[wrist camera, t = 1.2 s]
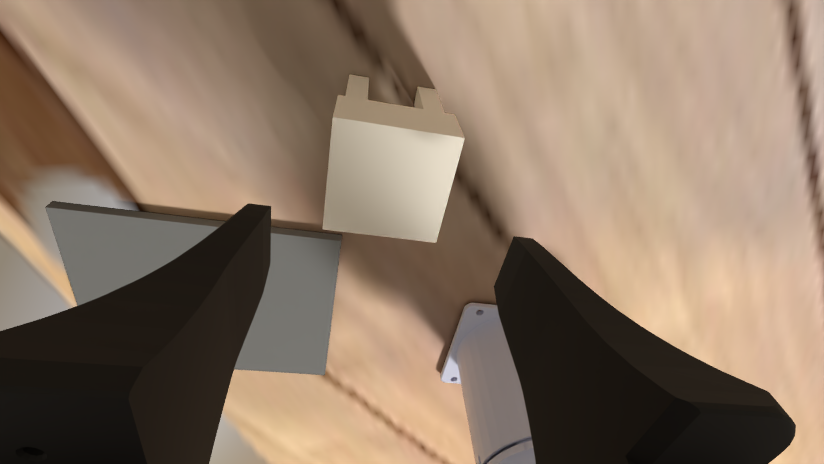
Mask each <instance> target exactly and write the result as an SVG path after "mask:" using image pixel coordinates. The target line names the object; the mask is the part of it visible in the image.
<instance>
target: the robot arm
mask: <svg viewBox="0 0 824 464" xmlns="http://www.w3.org/2000/svg"><path fill="white" fill-rule="evenodd" d="M270 261H271V206H265V205H257V204H247V205H246V206H244V207H243V208H242V209H241V210H239V211H238V212H237V213H236V214H235V215H233V216H232V217H231V218H230V219H229V220H227V221H226V222H225V223H224V224H222V225H221V226H220V227H219V228H217V229H216V230H215V231H213V232H212V233H211V234H210V235H208V236H207V237H206V238H204V239H203V240H202V241H200V242H199V243H198V244H196V245H195V246H193V247H192V248H190V249H189V250H187V251H186V252H184V253H183V254H181V255H180V256H179V257H177V258H176V259H174V260H172V261H171V262H169V263H167V264H166V265H164V266H162V267H160V268H159V269H157V270H155V271H153V272H151V273H149V274H148V275H146V276H144V277H142V278H140V279H138V280H136V281H134V282H132V283H129V284H127V285H125V286H123V287H121V288H119V289H116V290H114V291H112V292H110V293H108V294H106V295H103V296H101V297H99V298H96V299H94V300H91V301H89V302H86V303H84V304H81V305H79V306H76V307H73V308H71V309H68V310H65V311H62V312H60V313H57V314H54V315H51V316H48V317H45V318H42V319H39V320H36V321H33V322H30V323H26V324H23V325H20V326H17V327H13V328H10V329H6V330H3V331H0V464H209V461H210V457H211V453H212V449H213V445H214V441H215V437H216V433H217V429H218V425H219V422H220V418H221V414H222V410H223V406H224V403H225V399H226V395H227V392H228V388H229V384H230V381H231V377H232V374H233V371H234V368H235V365H236V362H237V359H238V356H239V354H240V351H241V349H242V346H243V344H244V341H245V338H246V336H247V333H248V331H249V328H250V326H251V323H252V321H253V318H254V316H255V313H256V310H257V308H258V305H259V303H260V300H261V298H262V295H263V292H264V288H265V284H266V280H267V276H268V272H269V267H270ZM494 289H495V296H496V302H497V305H491V304H481V303H469V304H467V305H466V306H465V307H464V310H463V313H462V315H461V318H460V321H459V324H458V327H457V329H456V332H455V335H454V338H453V341H452V343H451V346H450V349H449V352H448V355H447V357H446V360H445V363H444V366H443V369H442V372H441V374H440V377H441V381H443V382H445V383H459V384H461V386H462V392H463V397H464V403H465V408H466V413H467V419H468V424H469V430H470V435H471V440H472V446H473V451H474V457H475V462H476V464H768V463H769V462H771V461H772V460H773V459H774V458H776V457H777V456H778V455H779V454H781V453H782V452H783V451H784V450H785V449H786V448H787V447H788V446H789V445H790V443H791V442H792V440H793V438H794V436H795V428H796V425H795V423H794V422H793V420H792V419H791V418H790V417H789V415H788V414H787V413H786V412H785V411H784V409H783V408H782V407H781V406H780V405H779V404H778V402H777V401H776V400H775V399H774V398H773V396H772V395H771V394H770V393H769V392H767V391H765V390H763V389H761V388H759V387H756V386H754V385H752V384H749V383H747V382H745V381H743V380H740V379H738V378H736V377H734V376H731V375H729V374H727V373H725V372H722V371H720V370H718V369H716V368H714V367H712V366H710V365H708V364H706V363H704V362H702V361H700V360H698V359H696V358H694V357H692V356H691V355H689V354H687V353H685V352H683V351H681V350H680V349H678V348H676V347H674V346H672V345H671V344H669V343H667V342H666V341H664V340H662V339H661V338H659V337H657V336H656V335H654V334H652V333H651V332H649V331H648V330H646V329H644V328H643V327H641V326H640V325H638V324H637V323H635V322H634V321H632V320H631V319H630V318H628V317H627V316H625V315H624V314H622V313H621V312H619V311H618V310H617V309H615V308H614V307H613V306H611V305H610V304H609V303H608V302H606V301H605V300H604V299H603V298H601V297H600V296H599V295H598V294H596V293H595V292H594V291H593V290H591V289H590V288H589V287H588V286H587V285H585V284H584V283H583V282H582V281H581V280H580V279H578V278H577V277H576V276H575V275H574V274H573V273H572V272H570V271H569V270H568V269H567V268H566V267H565V266H564V265H563V264H562V263H560V262H559V261H558V260H557V259H556V258H555V257H554V256H553V255H552V254H550V253H549V252H548V251H547V250H546V249H545V248H544V247H542V246H541V245H540V244H539V243H538V242H536V241H535V240H534V239H531V238H523V237H515V236H514V237H513V240H512V242H511V245H510V247H509V250H508V253H507V255H506V258H505V260H504V263H503V265H502V268H501V270H500V273H499V275H498V278H497V280H496V283H495V286H494ZM478 310H481V311H478Z"/></svg>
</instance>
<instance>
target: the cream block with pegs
mask: <svg viewBox="0 0 824 464" xmlns="http://www.w3.org/2000/svg"><path fill="white" fill-rule="evenodd" d="M368 88H369V78H368V77H362V76H357V75H351V74H350V75H349V80H348V85H347V90H346V95H345V96H342V95H338V97H337V101H336V106H335V110H334V114H333V119H332V130H331V141H330V152H329V163H328V174H327V185H326V196H325V207H324V218H323V228H322V229H323V230H332V231H340V232H348V233H357V234H365V235H374V236H382V237H391V238H399V239H407V240H416V241H424V242H433V243H436V242H437V238H438V234H439V231H440V227H441V223H442V220H443V216H444V212H445V209H446V205H447V201H448V198H449V194H450V191H451V187H452V183H453V180H454V176H455V172H456V169H457V165H458V161H459V158H460V154H461V150H462V147H463V143H464V140H465V137H464V135H463V133H462V130H461V128H460V125H459V123H458V121H457V118H456V116H455V114H449V113H445V112H444V109H443V107H442V104H441V101H440V98H439V96H438V93H437V90H436V89H430V88H424V87H419V86H418V87H417V92H416V97H415V102H414V107H415V108H413V107H407V106H401V105H396V104H390V103H384V102H378V101H372V100H368Z"/></svg>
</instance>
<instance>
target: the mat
mask: <svg viewBox="0 0 824 464" xmlns="http://www.w3.org/2000/svg"><path fill="white" fill-rule="evenodd" d="M45 208H46V211H47V214H48V217H49V220H50V223H51V226H52V229H53V232H54V235H55V238H56V241H57V244H58V247H59V250H60V253H61V257H62V260H63V263H64V266H65V269H66V272H67V275H68V278H69V281H70V284H71V287H72V290H73V293H74V296H75V299H76V302H77V305H78V306H79V305H81V304H84V303H86V302H89V301H91V300H94V299H96V298H99V297H101V296H103V295H106V294H108V293H110V292H112V291H114V290H116V289H119V288H121V287H123V286H125V285H127V284H129V283H132V282H134V281H136V280H138V279H140V278H142V277H144V276H146V275H148V274H149V273H151V272H153V271H155V270H157V269H159V268H160V267H162V266H164V265H166V264H167V263H169V262H171V261H172V260H174V259H176V258H177V257H179V256H180V255H181V254H183V253H184V252H186V251H187V250H189V249H190V248H192V247H193V246H195V245H196V244H198V243H199V242H200V241H202V240H203V239H204V238H206V237H207V236H208V235H210V234H211V233H212V232H213V231H215V230H216V229H217V228H219V227H220V226H221V225H222V224H224V223H225V222H226V221H218V220H209V219H201V218H192V217H183V216H175V215H166V214H158V213H149V212H141V211H132V210H124V209H115V208H107V207H98V206H90V205H81V204H73V203H64V202H56V201H52V202H51V203H50V204H49V205H47V206H46V207H45ZM341 239H342V235H337V234H328V233H320V232H311V231H303V230H294V229H286V228H277V227H271V261H270V267H269V272H268V276H267V280H266V284H265V288H264V292H263V295H262V298H261V300H260V303H259V305H258V308H257V310H256V313H255V316H254V318H253V321H252V323H251V326H250V328H249V331H248V333H247V336H246V338H245V341H244V344H243V346H242V349H241V351H240V354H239V356H238V359H237V362H236V365H235V368H234V369H238V370H253V371H269V372H284V373H299V374H315V375H325V369H326V361H327V353H328V345H329V337H330V329H331V320H332V312H333V304H334V296H335V288H336V280H337V272H338V264H339V256H340V248H341Z"/></svg>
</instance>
